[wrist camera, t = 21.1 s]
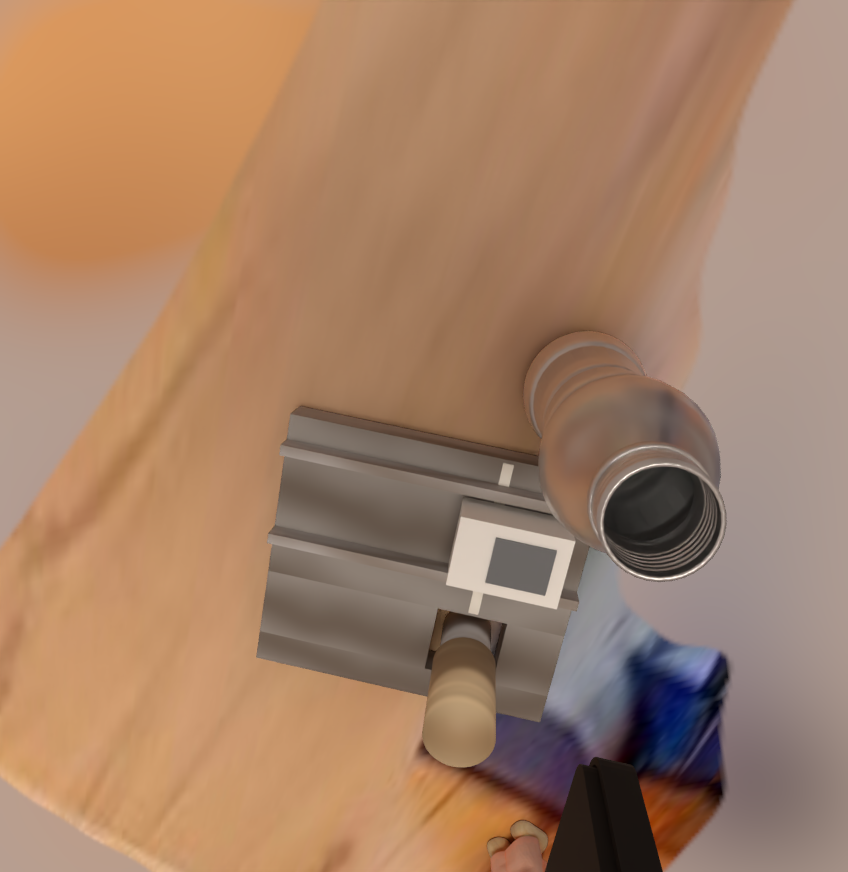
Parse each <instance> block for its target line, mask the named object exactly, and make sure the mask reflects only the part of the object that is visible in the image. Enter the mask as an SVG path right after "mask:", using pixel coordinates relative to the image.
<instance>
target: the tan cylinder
mask: <svg viewBox="0 0 848 872" xmlns="http://www.w3.org/2000/svg"><path fill="white" fill-rule="evenodd" d="M422 737H423V742H424V745H425V747H426V749H427V750H428V752H429V753H430V754H431V755H432V756H433V757H434V758H435V759H437V760H438V761H440V762H442V763H444V764H446V765H449V766H453V767H470V766H473V765H476V764H479V763H480V762H482V761H484V760H485V759H486V758H487V757H488V756H489V755H490V754H491V752H492V751H493V749H494V746H495V741H496V664H495V659H494V656H493V654H492V652H491V625H490V622H489V620H487V619H483V618H478V617H474V616H469V615H465V614H460V613H456V612H450V613H449V614H448V615H447V616H446V618H445V620H444V623H443V630H442V638H441V645H440V647H439V648H438V649H437V651H436V653H435V655H434V658H433V664H432V671H431V678H430V684H429V691H428V697H427V704H426V711H425V717H424V724H423V731H422Z"/></svg>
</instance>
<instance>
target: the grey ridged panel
mask: <svg viewBox="0 0 848 872" xmlns="http://www.w3.org/2000/svg"><path fill="white" fill-rule="evenodd" d="M279 455H281V456H285V457H284V464H283V471H282V478H281V485H280V492H279V499H278V506H277V514H276V521H275V526H274V527H273V528H272V530H271V531H270V532H269V533H268V540H267V543H270V544H272V549H271V556H270V563H269V571H268V578H267V585H266V592H265V599H264V606H263V613H262V620H261V628H260V635H259V642H258V649H257V656H256V657H257V658H261V659H266V660H270V661H274V662H279V663H283V664H287V665H292V666H296V667H300V668H305V669H309V670H314V671H318V672H322V673H327V674H331V675H335V676H340V677H344V678H349V679H353V680H357V681H362V682H366V683H370V684H375V685H379V686H383V687H388V688H392V689H397V690H401V691H405V692H410V693H414V694H418V695H423V696H427V697H428V691H429V684H430V678H431V671H432V664H433V658H434V655H435V653H436V652H434V651H429V646H430V642H431V637H432V633H433V628H434V624H435V619H436V615H437V610H438V609H442V610H447V611H451V612H456V613H460V614H465V615H469V616H474V617H478V618H483V619H487V620H492V621H496V622H501V623H503V624H502V628H501V632H500V636H499V640H498V644H497V648H496V652H495V656H494V659H495V664H496V712H497V713H501V714H506V715H510V716H514V717H519V718H523V719H527V720H532V721H536V722H540V720H541V717H542V713H543V710H544V706H545V702H546V699H547V695H548V692H549V688H550V685H551V681H552V678H553V674H554V671H555V667H556V664H557V660H558V656H559V653H560V649H561V646H562V642H563V639H564V635H565V632H566V628H567V625H568V621H569V617H570V614H571V610H572V611H577V608H578V604H579V599H578V595H577V589H578V586H579V582H580V578H581V575H582V571H583V568H584V564H585V561H586V557H587V554H588V550H589V547H590V546H588V545H586V544H584V543H583V542H581V541H580V540H578V539H577V538H576V537H574V538H575V545H574V549H573V552H572V556H571V560H570V563H569V567H568V571H567V574H566V578H565V581H564V585H563V589H562V592H561V596H560V600H559V603H558V607H557V609H552V608H548V607H543V606H539V605H534V604H529V603H525V602H520V601H516V600H511V599H507V598H502V597H498V596H493V595H489V594H484V593H480V592H475V591H471V590H466V589H462V588H457V587H453V586H448V585H446V580H447V573H448V566H449V560H450V555H451V551H452V546H453V542H454V537H455V533H456V528H457V524H458V519H459V515H460V510H461V506H462V501H463V497H468V498H473V499H477V500H482V501H487V502H491V503H496V504H500V505H505V506H510V507H514V508H519V509H524V510H528V511H533V512H538V513H542V514H547V515H552V516H553V514H552V512H551V511H550V509H549V507H548V505H547V503H546V501H545V499H544V496H543V493H542V489H541V486H540V480H539V469H538V459H539V456H534V455H529V454H525V453H520V452H515V451H510V450H506V449H501V448H496V447H492V446H487V445H482V444H477V443H473V442H468V441H463V440H458V439H454V438H449V437H444V436H440V435H435V434H430V433H425V432H421V431H416V430H411V429H406V428H402V427H397V426H392V425H388V424H383V423H378V422H373V421H369V420H364V419H359V418H355V417H350V416H345V415H340V414H336V413H331V412H326V411H321V410H317V409H312V408H307V407H303V406H300V407H298V408H297V409H296V410H295V411H293V412H292V413H291V414H290V421H289V428H288V435H287V439H286V440H285V441H284V442H283V443H282V444H281V446H280V453H279Z"/></svg>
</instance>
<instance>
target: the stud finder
mask: <svg viewBox="0 0 848 872" xmlns="http://www.w3.org/2000/svg"><path fill="white" fill-rule="evenodd" d="M574 545H575V538H574V536H573V535H572V534H571V533H570V532H568V531H567V530H566V529H565V528H563V526H562V525H561V524H560V523H559V522H558V520H557V519H556V518H555V517H554V516H552V515H547V514H542V513H538V512H533V511H528V510H524V509H519V508H514V507H510V506H505V505H500V504H496V503H491V502H487V501H482V500H477V499H473V498H468V497H463V501H462V506H461V510H460V515H459V519H458V524H457V528H456V533H455V537H454V542H453V546H452V551H451V555H450V560H449V566H448V573H447V580H446V585H448V586H453V587H457V588H462V589H466V590H471V591H475V592H480V593H484V594H489V595H493V596H498V597H502V598H507V599H511V600H516V601H520V602H525V603H529V604H534V605H539V606H543V607H548V608H552V609H557V607H558V603H559V600H560V596H561V592H562V589H563V585H564V581H565V578H566V574H567V571H568V567H569V563H570V560H571V556H572V552H573V549H574Z"/></svg>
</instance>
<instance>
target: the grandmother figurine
mask: <svg viewBox="0 0 848 872" xmlns="http://www.w3.org/2000/svg"><path fill="white" fill-rule="evenodd" d="M511 835H512V836H513V838H514V839H515V841H514V842H513V843H512V844H510V843H509V842H508V840H506V839H505V838H502V837H496V838H493V839H491V840H490V841H488V843H487V849H488V852H489V855H490V857H491V872H545V869H546V866H547V863H546V861H544V860H543V859H542V854H541V853H542V852H543V851H544V850H545V849H546V847H547V844H548V837H547V835H546V834H545V832H543V831H542V830H540V829H539V828H537V827H536V826H534V825H533V824H531V823H530V822H528V821H524V820H522V821H518V822H516V823H515V824H514V825H512V827H511Z"/></svg>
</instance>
